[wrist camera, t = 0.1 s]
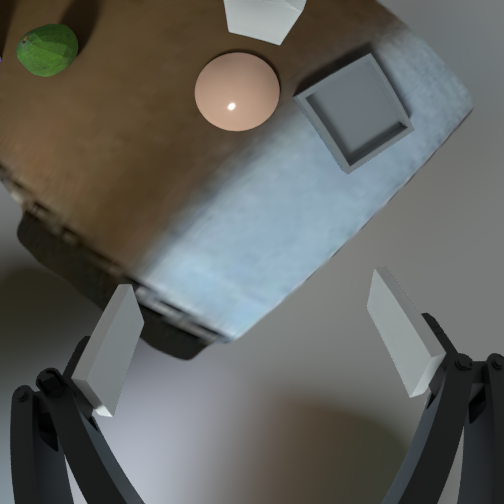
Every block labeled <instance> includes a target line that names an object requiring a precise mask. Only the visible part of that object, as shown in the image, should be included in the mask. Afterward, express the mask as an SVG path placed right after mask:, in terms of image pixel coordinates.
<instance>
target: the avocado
mask: <svg viewBox="0 0 504 504" xmlns="http://www.w3.org/2000/svg"><path fill="white" fill-rule="evenodd" d="M16 50H17V57H18V59H19V60H20V62H21V63H22V64H23V65H24V66H25V67H26V68H27V69H28V70H29V71H30V72H31V73H32V74H35V75H39V76H45V77H47V76H52V75H54V74H57V73H59V72H61V71H63V70H64V69H65V68H67V67H68V66H69V65H70V64H71V63H72V61H73V60H74V59H75V57H76V55H77V52H78V40H77V37H76V35H75V34H74V32H73V31H72V30H71V29H70V28H69V27H68V26H66V25H61V24H47V25H44V26H41V27H38V28H36V29H33V30H31V31H29V32H28V33H26V34H25V35H24V36H23V37H22V38H21V40H20V42H19V43H18V45H17V48H16Z"/></svg>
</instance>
